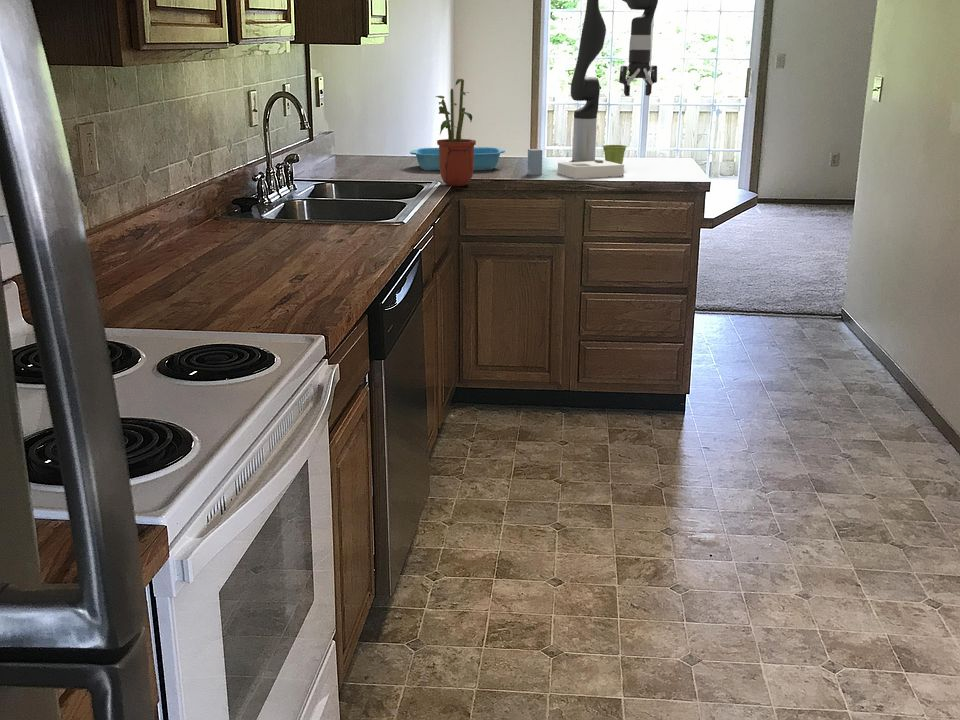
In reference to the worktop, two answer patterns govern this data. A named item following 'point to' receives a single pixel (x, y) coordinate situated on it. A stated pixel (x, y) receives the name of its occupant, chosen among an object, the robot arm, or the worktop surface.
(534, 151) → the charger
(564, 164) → the outlet plate
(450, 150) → the potted plant
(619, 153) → the plant pot
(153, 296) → the worktop surface
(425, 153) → the casserole dish
